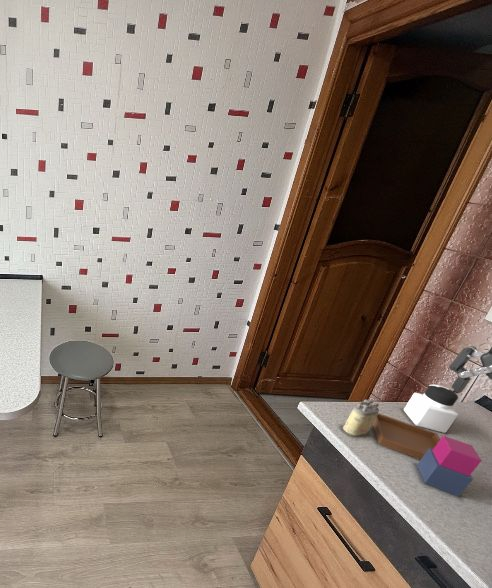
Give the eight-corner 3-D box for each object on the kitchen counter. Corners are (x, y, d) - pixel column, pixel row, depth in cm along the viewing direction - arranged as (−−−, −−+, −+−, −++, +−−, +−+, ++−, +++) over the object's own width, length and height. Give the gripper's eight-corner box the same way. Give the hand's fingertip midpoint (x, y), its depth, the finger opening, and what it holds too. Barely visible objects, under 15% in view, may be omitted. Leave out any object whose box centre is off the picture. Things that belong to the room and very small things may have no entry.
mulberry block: (460, 460, 78) (471, 445, 76) (469, 476, 74) (482, 460, 72) (432, 450, 80) (442, 435, 78) (439, 465, 76) (451, 449, 74)
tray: (433, 438, 92) (436, 433, 92) (449, 470, 83) (454, 465, 82) (370, 416, 99) (373, 411, 98) (378, 444, 89) (382, 438, 88)
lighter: (357, 423, 95) (373, 396, 91) (371, 434, 92) (388, 406, 88) (339, 427, 94) (354, 400, 89) (352, 438, 90) (368, 410, 86)
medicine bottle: (445, 433, 95) (469, 401, 90) (415, 426, 97) (437, 393, 92) (430, 416, 101) (451, 385, 96) (402, 409, 103) (421, 378, 98)
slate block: (448, 477, 81) (462, 460, 78) (458, 496, 76) (473, 479, 74) (416, 465, 84) (428, 448, 81) (424, 483, 79) (437, 465, 76)
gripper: (605, 357, 58) (544, 427, 64) (490, 319, 70) (449, 381, 76) (588, 364, 55) (526, 435, 61) (472, 323, 67) (431, 386, 73)
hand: (483, 405), depth 69 cm, fingers open, 8 cm apart
